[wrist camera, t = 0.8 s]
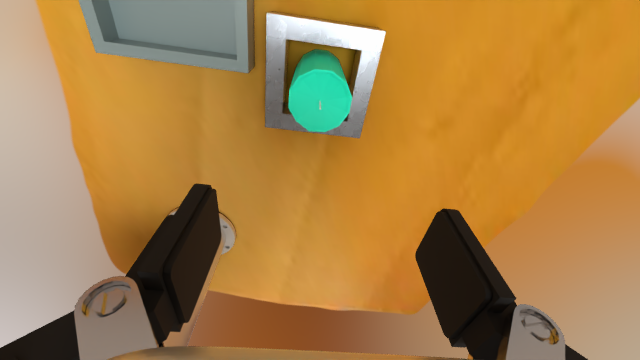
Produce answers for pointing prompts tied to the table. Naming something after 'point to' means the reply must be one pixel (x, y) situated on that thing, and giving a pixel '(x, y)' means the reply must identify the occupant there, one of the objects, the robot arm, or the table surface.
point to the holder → (325, 33)
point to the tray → (175, 31)
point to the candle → (319, 92)
